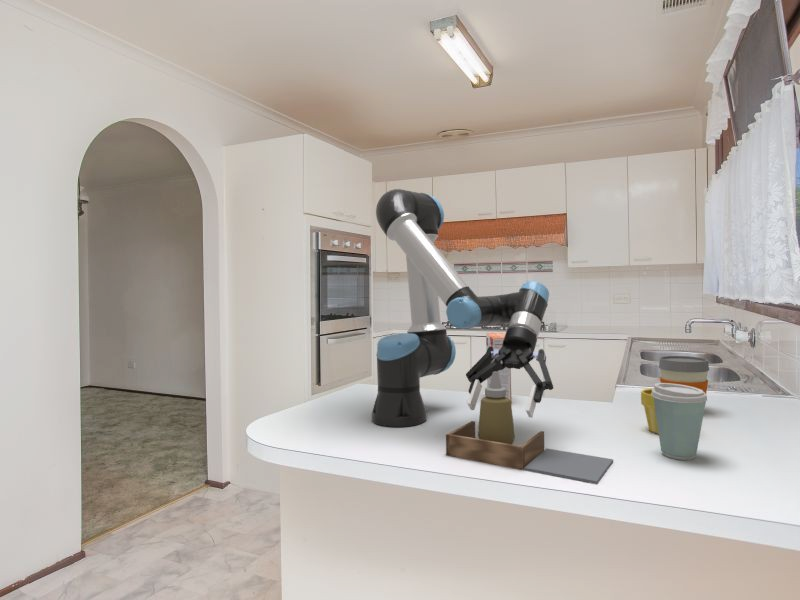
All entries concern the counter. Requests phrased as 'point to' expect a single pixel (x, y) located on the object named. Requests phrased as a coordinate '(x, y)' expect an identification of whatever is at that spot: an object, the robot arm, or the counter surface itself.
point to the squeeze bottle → (496, 414)
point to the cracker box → (505, 374)
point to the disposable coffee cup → (679, 418)
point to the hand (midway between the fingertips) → (498, 410)
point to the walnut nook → (492, 448)
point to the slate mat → (570, 465)
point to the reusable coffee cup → (684, 371)
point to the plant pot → (649, 409)
